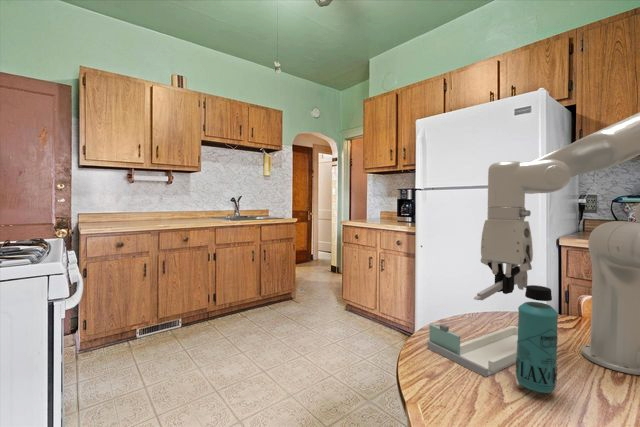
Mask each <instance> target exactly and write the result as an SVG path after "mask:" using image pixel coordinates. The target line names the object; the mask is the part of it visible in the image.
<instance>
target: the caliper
mask: <svg viewBox="0 0 640 427" xmlns="http://www.w3.org/2000/svg"><path fill="white" fill-rule="evenodd" d="M521 265H522V264H521ZM521 265H519V266H521ZM528 278H529V277H528V271H521V272H519V273H518V274H517V275H516V276H514V286H515V285H516V286H517V289H519V290H520V291H521V290H522V291H524V289H526V287H527V286H528ZM502 289H503V280H502V281H500V282H498V283H496V284H495V283H494V284H492V285H490V286H489V287H486V288H485V289H483V290H481V291H478V293H476V296H474V298H473V300H475V301H484V300H485V299H487V298H490V297H491V296H492V295H495V294H496V293H499V292H498V291H500V290H502Z"/></svg>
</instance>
